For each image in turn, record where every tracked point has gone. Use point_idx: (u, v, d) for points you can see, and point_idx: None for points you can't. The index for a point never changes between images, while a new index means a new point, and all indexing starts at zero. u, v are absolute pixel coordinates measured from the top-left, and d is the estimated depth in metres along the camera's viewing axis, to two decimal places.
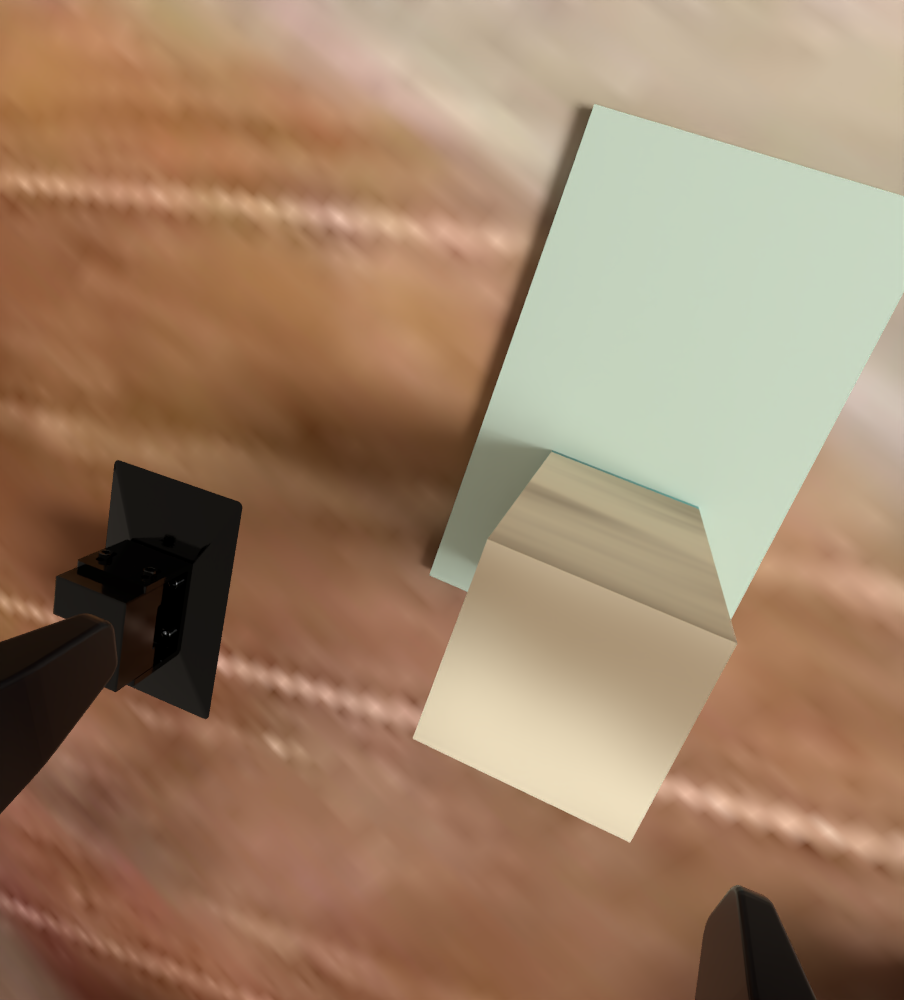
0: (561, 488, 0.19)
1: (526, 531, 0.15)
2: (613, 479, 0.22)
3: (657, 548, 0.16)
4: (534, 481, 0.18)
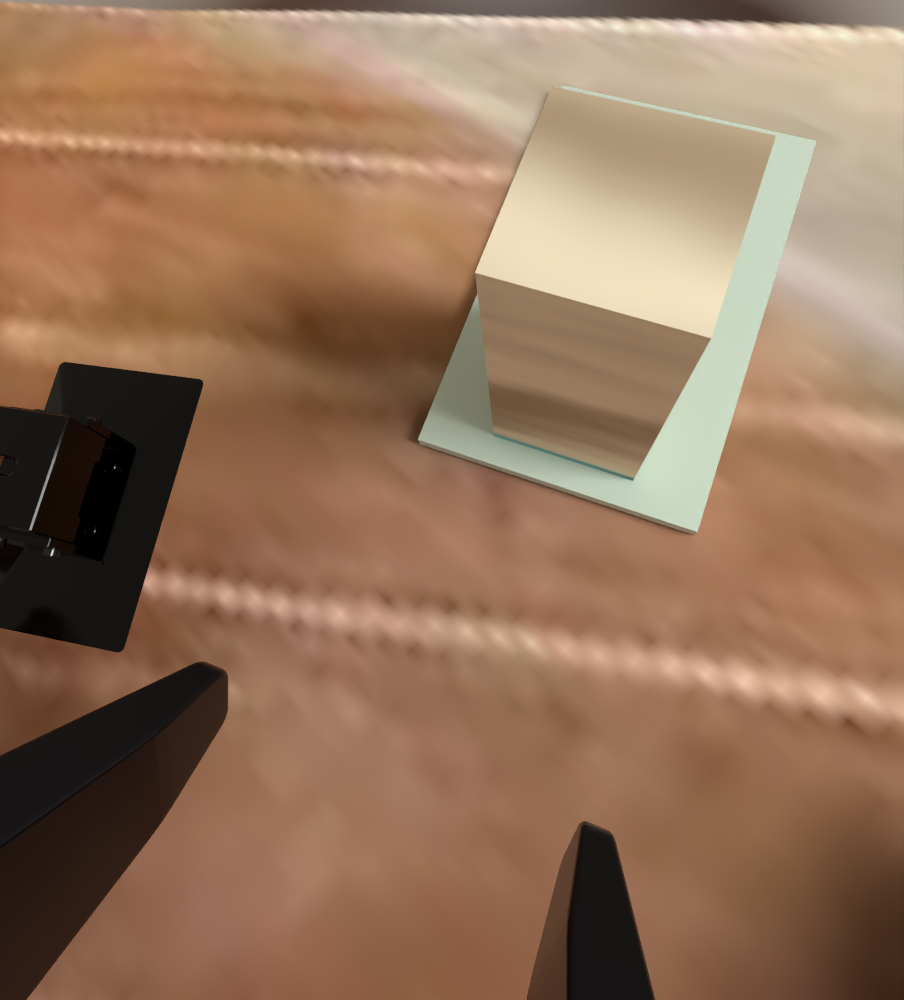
0: None
1: None
2: None
3: None
4: None
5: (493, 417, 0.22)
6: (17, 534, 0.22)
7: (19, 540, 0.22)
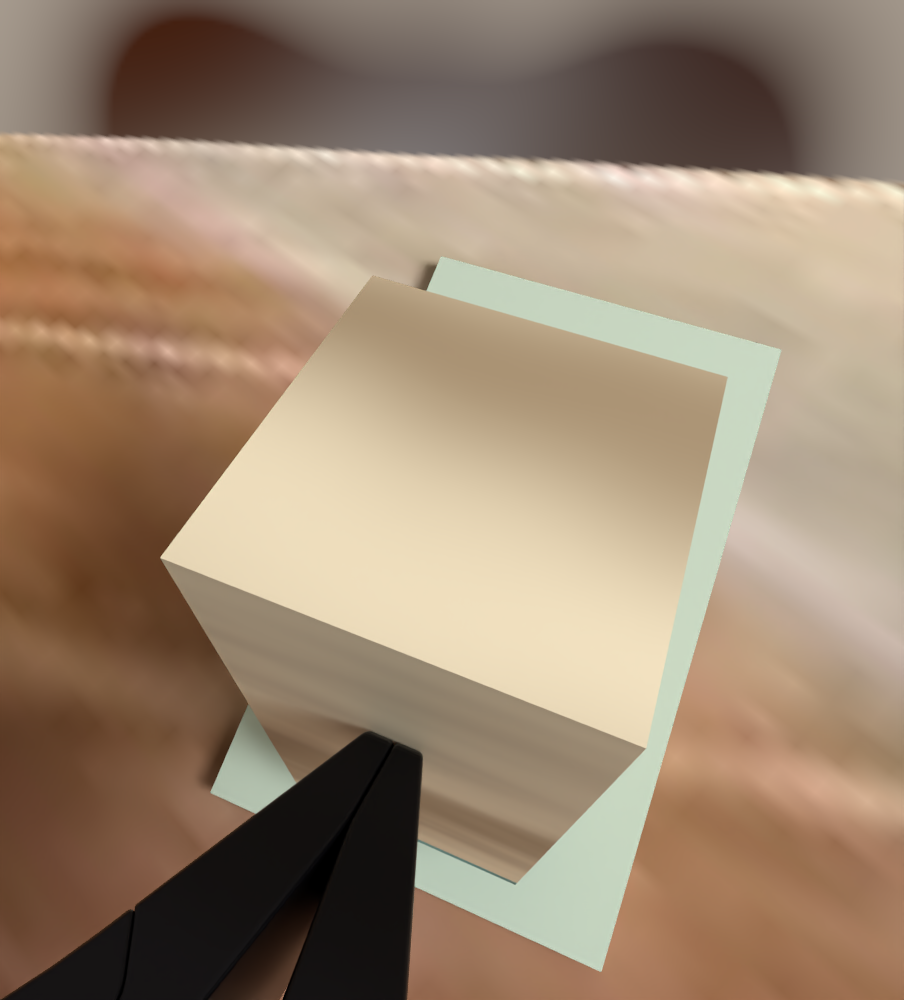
0: None
1: None
2: None
3: None
4: None
5: (289, 769, 0.14)
6: None
7: None
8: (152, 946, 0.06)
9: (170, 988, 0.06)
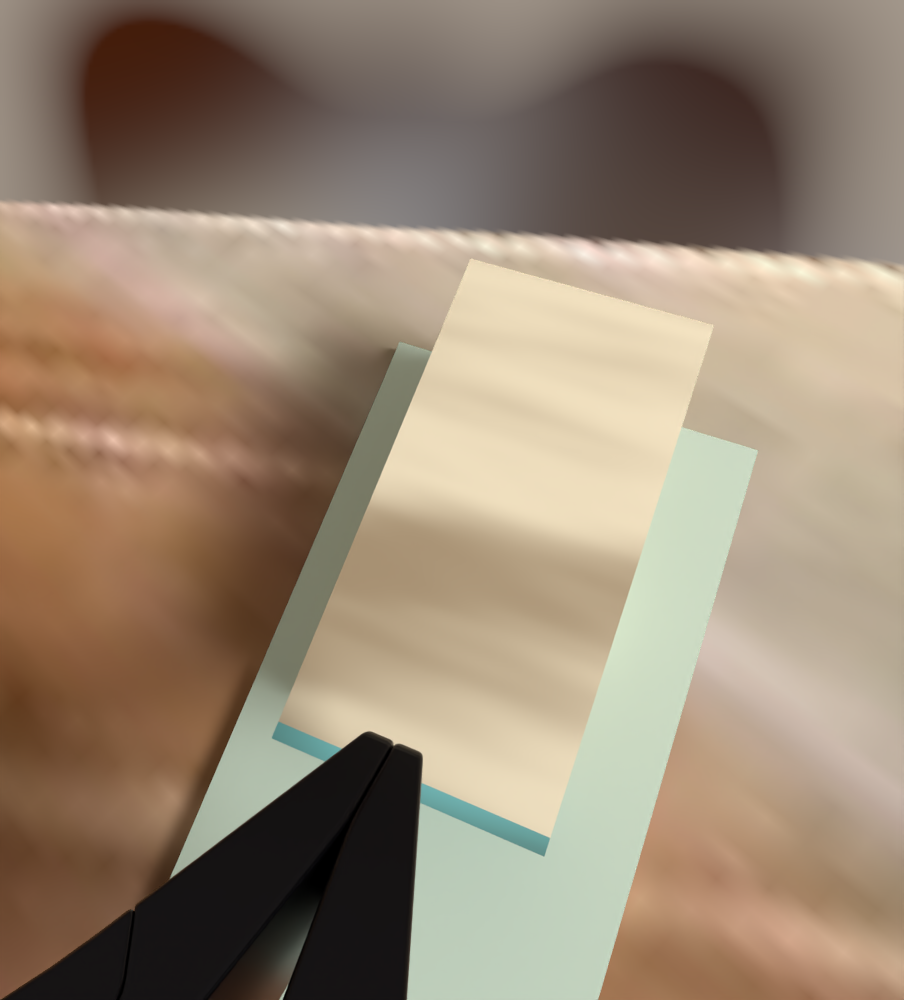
0: None
1: None
2: None
3: None
4: None
5: (314, 640, 0.12)
6: None
7: None
8: (152, 946, 0.06)
9: (170, 988, 0.06)
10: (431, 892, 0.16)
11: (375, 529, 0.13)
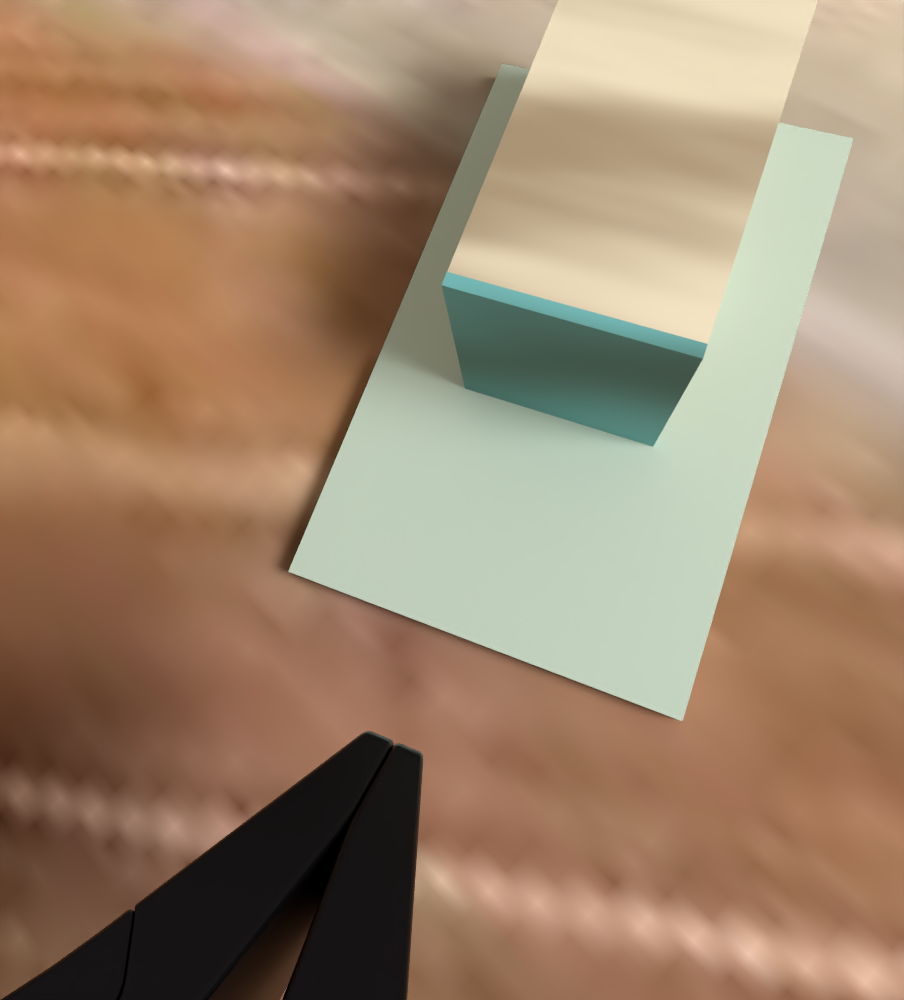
0: None
1: None
2: None
3: None
4: None
5: (476, 206, 0.13)
6: None
7: None
8: (152, 946, 0.06)
9: (170, 988, 0.06)
10: (556, 524, 0.17)
11: (527, 114, 0.14)
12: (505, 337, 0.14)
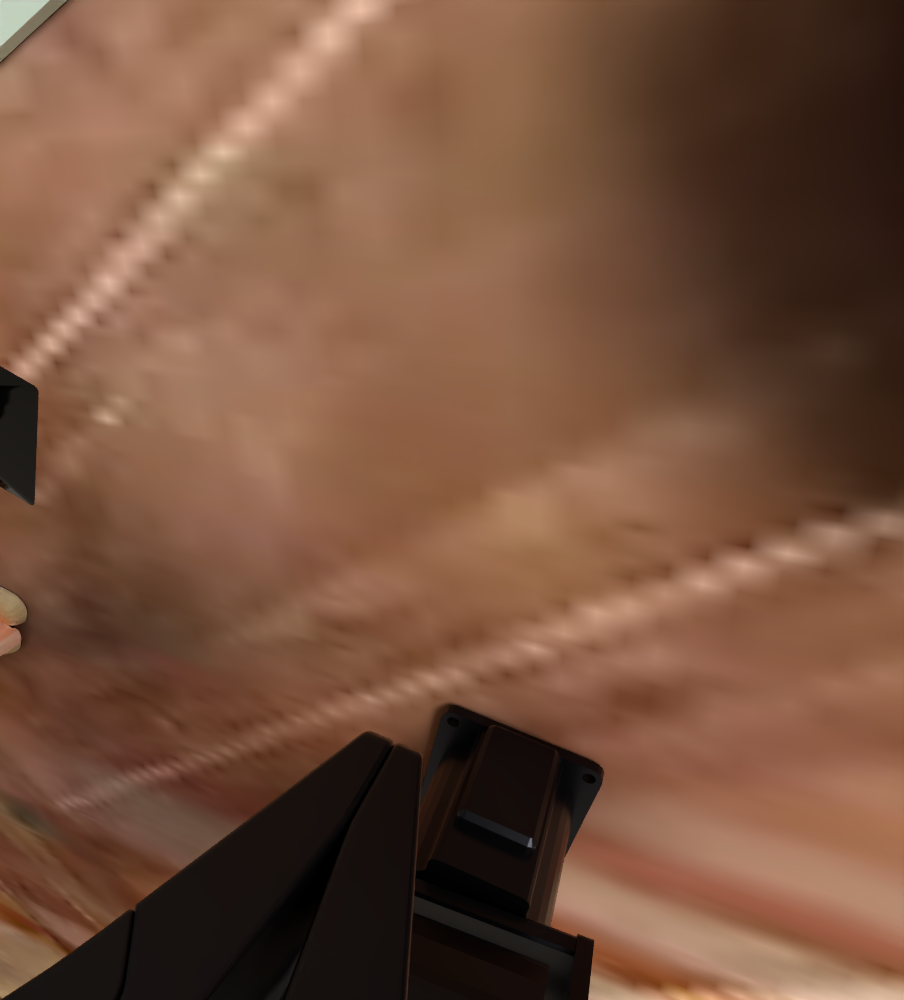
0: None
1: None
2: None
3: None
4: None
5: None
6: None
7: None
8: (152, 946, 0.06)
9: (170, 988, 0.06)
10: None
11: None
12: None
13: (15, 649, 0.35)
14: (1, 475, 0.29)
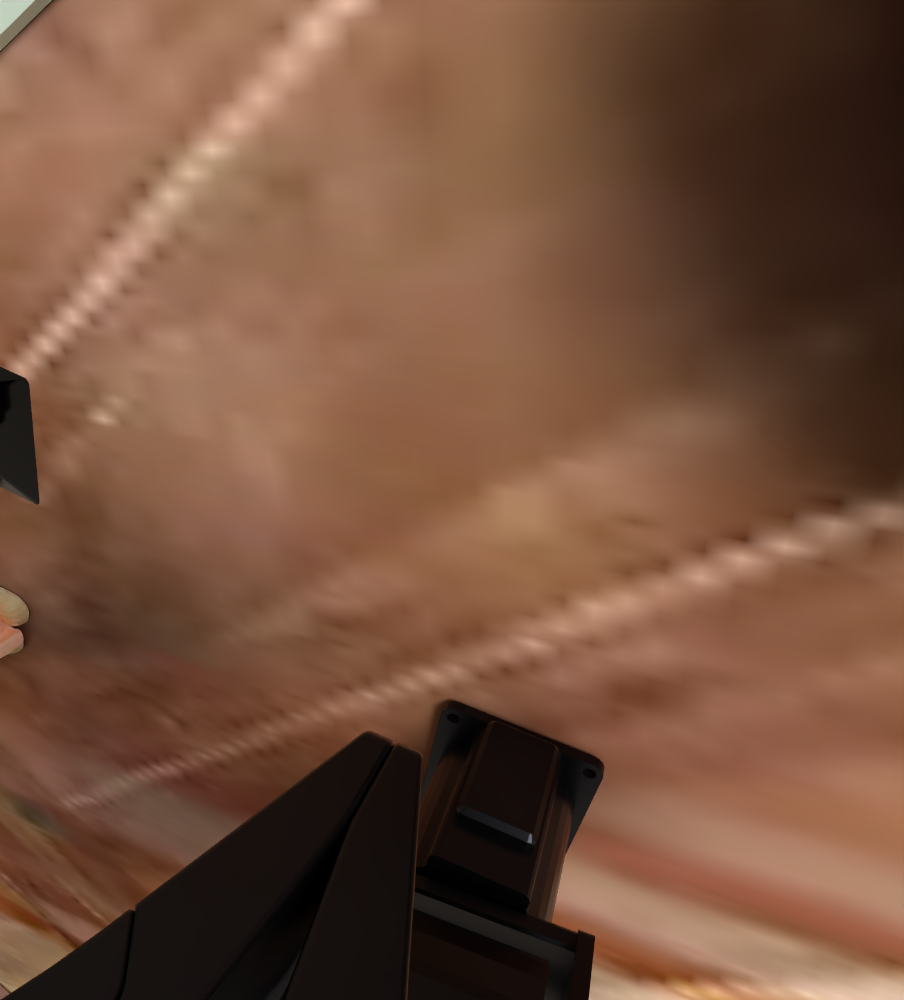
0: None
1: None
2: None
3: None
4: None
5: None
6: None
7: None
8: (152, 946, 0.06)
9: (170, 988, 0.06)
10: None
11: None
12: None
13: (18, 649, 0.35)
14: (4, 476, 0.29)
